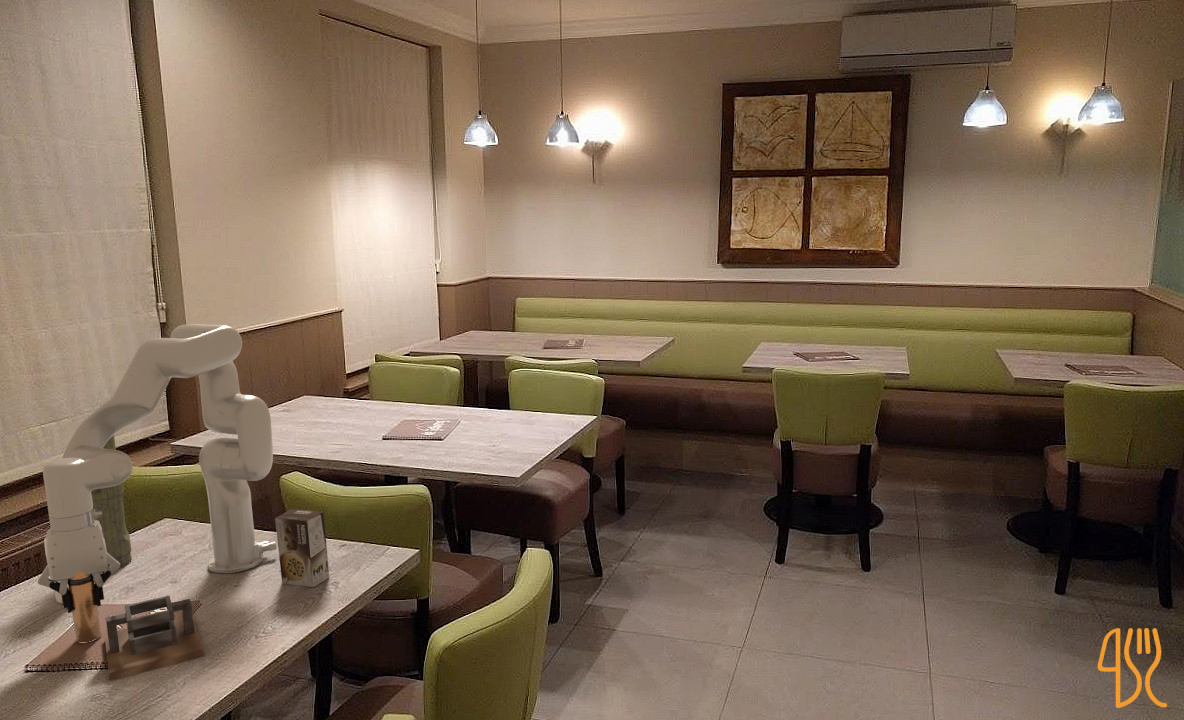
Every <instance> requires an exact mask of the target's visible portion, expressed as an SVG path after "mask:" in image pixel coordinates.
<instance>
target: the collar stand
mask: <svg viewBox="0 0 1184 720" xmlns="http://www.w3.org/2000/svg"><path fill="white" fill-rule="evenodd" d="M164 608H166V610H163V611H158V612H153V613H150V614H146V615H141V616H138V617H137V616H136V617H132V616H134V615H138V614H143V613H149V612H151V611H157V610H160V609H164ZM180 611H182V615H180V616H175V612H180ZM124 612H125V613H122V614H116V615H112V616H107V617H105V624H106V632H107V633H105V634H104V640H105V651H106V662H107V671H108V672H107V673H108V679H109V681H114V680H117V679H123V678H125V677H129V676H134V675H136V674H137V675H138V674H140V673H144V672H148V671H151V670H152V671H153V670H157V669H159V668H164V667H166V666H171V665H175V664H178V663H183V662H186V661H187V662H188V661H190V660H195V659H197V658H198V659H199V658H201V657H205V654H204V648H203V645H202V642H201V641H202V640H201V638H200V635H199V632H198V629H197V626H196V624H195V623H196V622H195V619H194V617H193V607H192V601H191V599H190V598H187V599H182V600H176V601H172V600H171V596H170V595H166V596H162V597H157V598H153V599H147V600H143V601H138V602H135V603H130V604H125V605H124ZM124 624H126V627H127V628H125V629H124V628H123V629H119V630H118V627H117V626H120V625H124Z"/></svg>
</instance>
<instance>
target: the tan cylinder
mask: <svg viewBox="0 0 1184 720" xmlns="http://www.w3.org/2000/svg"><path fill="white" fill-rule="evenodd" d="M94 584H95V580H94V577H93V575H92V574H91V575H85V574H84V573H83V572H81V571H78V572H77V573H76V575H75V577H73V578H71V579H68V586H69V592H70V598H71V605H72V612H71V613H72V619H73V626H74V634H75V635H74V636H75V640H76V641H77V642H89V641H92V640H94V639H97V638H99V637H100V636H101V637H102V630H101V623H100V616H99V615H100V614H99V609H98V607H99V606H97V603H96V596H95V589H94V587H95V585H94ZM101 637H100V638H101ZM100 638H99V639H100ZM97 640H98V639H97ZM77 642H76V643H77Z"/></svg>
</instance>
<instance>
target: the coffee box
mask: <svg viewBox="0 0 1184 720" xmlns="http://www.w3.org/2000/svg"><path fill="white" fill-rule="evenodd" d="M274 520H275V529H276V539H277V547H278V557H279V568H280V577H281V584H285V585H293V586H300V587H308V588H309V587H310V588H314V587H315V588H316V587H317V586H318V585H320V584H321V583H322V582H324V581H326V580H327V579H329V578H330V572H329V558H328V548H327V547H328V546H327V538H326V537H327V535H326V526H325V525H326V523H325V512H324V511H321V510H320V511H319V510H308V509H298V508H296V509H295V508H291V509H289V510H287V511H286V512H283V513H282V514H280V515H278V516H276V517H275V518H274Z"/></svg>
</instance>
